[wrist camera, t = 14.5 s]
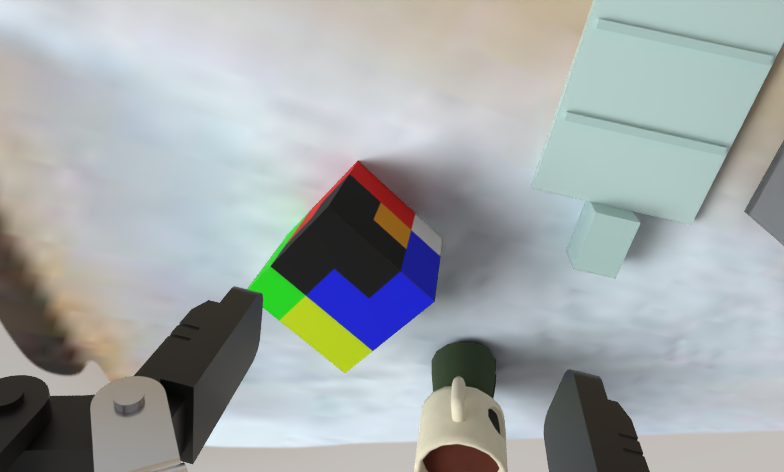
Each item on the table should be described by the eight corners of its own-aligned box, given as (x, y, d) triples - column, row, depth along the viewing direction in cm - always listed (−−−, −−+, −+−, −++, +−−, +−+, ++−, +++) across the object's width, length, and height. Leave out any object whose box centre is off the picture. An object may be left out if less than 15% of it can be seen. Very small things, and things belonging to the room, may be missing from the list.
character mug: (502, 405, 53) (509, 525, 41) (431, 403, 54) (419, 519, 42) (500, 315, 48) (507, 422, 36) (423, 316, 49) (407, 419, 38)
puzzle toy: (442, 238, 45) (434, 301, 37) (368, 302, 50) (344, 373, 41) (358, 160, 43) (327, 206, 34) (287, 234, 48) (244, 292, 39)
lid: (619, -80, 34) (633, -86, 31) (815, -40, 33) (847, -42, 30) (513, 237, 44) (516, 255, 41) (660, 272, 44) (673, 292, 41)
